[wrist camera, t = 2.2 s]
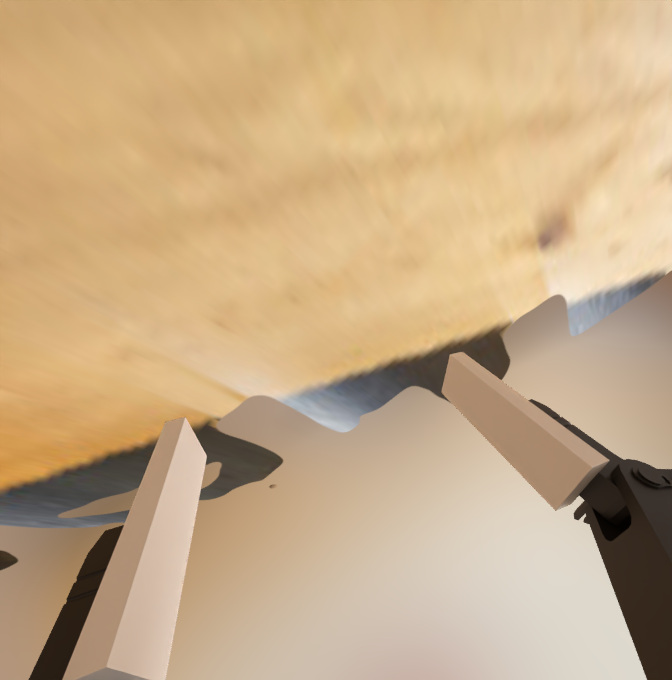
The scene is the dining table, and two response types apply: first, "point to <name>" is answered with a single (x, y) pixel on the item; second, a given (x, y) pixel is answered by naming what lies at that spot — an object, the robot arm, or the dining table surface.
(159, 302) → the dining table surface
